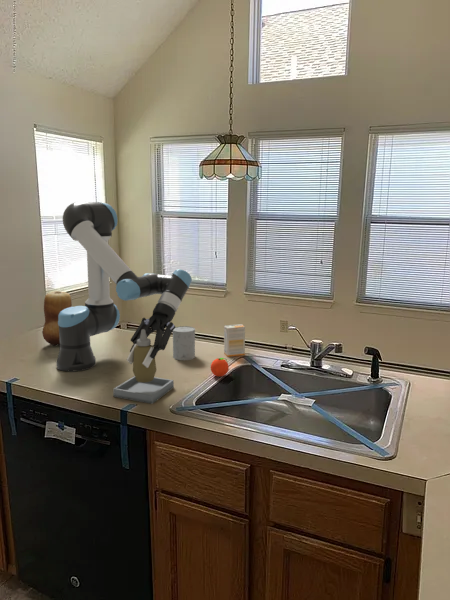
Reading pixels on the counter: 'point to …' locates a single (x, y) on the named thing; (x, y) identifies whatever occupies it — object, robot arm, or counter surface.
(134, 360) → the squeeze bottle
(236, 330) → the supplement box
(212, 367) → the clementine
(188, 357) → the grey cylinder
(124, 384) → the tray
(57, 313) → the butternut squash
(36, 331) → the counter surface
